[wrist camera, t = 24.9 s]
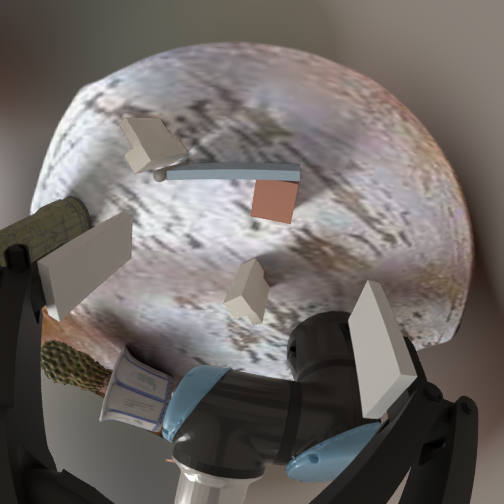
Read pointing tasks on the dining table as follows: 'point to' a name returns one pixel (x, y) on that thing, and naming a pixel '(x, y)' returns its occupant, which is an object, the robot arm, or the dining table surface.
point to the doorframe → (169, 151)
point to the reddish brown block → (274, 200)
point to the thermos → (47, 228)
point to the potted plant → (113, 384)
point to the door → (229, 171)
